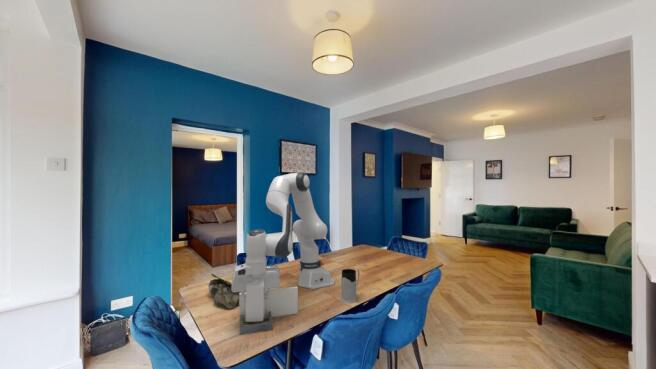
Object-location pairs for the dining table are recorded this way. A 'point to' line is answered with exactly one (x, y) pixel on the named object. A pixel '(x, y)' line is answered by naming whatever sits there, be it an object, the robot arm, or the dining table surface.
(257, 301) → the milk carton
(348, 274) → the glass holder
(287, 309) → the wall board
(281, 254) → the robot arm
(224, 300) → the hollow geode rock
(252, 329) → the cleat bracket
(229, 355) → the dining table surface
